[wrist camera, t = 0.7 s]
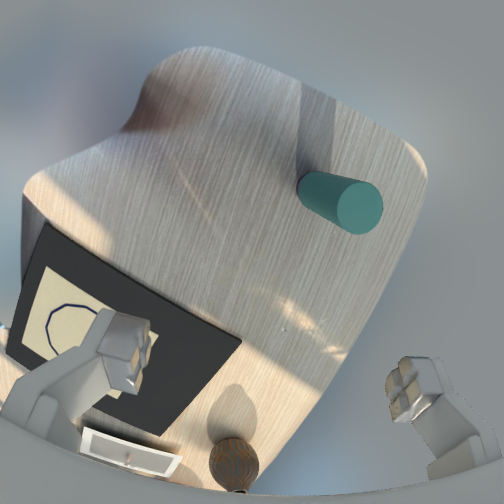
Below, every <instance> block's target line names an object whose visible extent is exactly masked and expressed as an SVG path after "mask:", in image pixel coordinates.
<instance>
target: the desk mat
mask: <svg viewBox="0 0 504 504" xmlns="http://www.w3.org/2000/svg"><path fill="white" fill-rule="evenodd" d="M102 308H106V309H110V310H113V311H117V312H121V313H125V314H128V315H132V316H136V317H139V318H143V319H147V320H149V321H150V331H149V334H148V335H149V336H150V337H151V352H150V357H149V361H148V364H147V366H146V367H145V368H143V369H142V375H143V379H142V382H141V385H140V388H139V391H138V394H137V395H134V394H130V393H126V392H122V391H118V390H115V389H111V391H110V392H108V393H107V394H106V395H105V396H103V397H102V398H101V399H100V400H99V401H97V402H96V403H95V404H94V405H93V406H92V407H94V408H96V409H98V410H100V411H102V412H104V413H106V414H108V415H110V416H112V417H114V418H117V419H119V420H121V421H123V422H125V423H128V424H130V425H132V426H135V427H137V428H139V429H142V430H144V431H147V432H149V433H152V434H154V435H157V436H159V437H160V436H161V435H162V434H163V433H164V432H165V431H166V430H167V429H168V427H169V426H170V425H171V424H172V423H173V422H174V421H175V420H176V419H177V417H178V416H179V415H180V414H181V413H182V412H183V411H184V410H185V408H186V407H187V406H188V405H189V404H190V403H191V402H192V400H193V399H194V398H195V397H196V396H197V395H198V394H199V392H200V391H201V390H202V389H203V388H204V387H205V386H206V384H207V383H208V382H209V381H210V380H211V379H212V377H213V376H214V375H215V374H216V373H217V372H218V370H219V369H220V368H221V367H222V366H223V364H224V363H225V362H226V361H227V360H228V359H229V357H230V356H231V355H232V354H233V353H234V351H235V350H236V349H237V348H238V347H239V345H240V344H241V343H242V340H240V339H238V338H236V337H234V336H232V335H230V334H229V333H227V332H225V331H223V330H221V329H219V328H217V327H215V326H213V325H212V324H210V323H208V322H206V321H204V320H202V319H200V318H199V317H197V316H195V315H193V314H191V313H190V312H188V311H186V310H184V309H182V308H181V307H179V306H177V305H175V304H174V303H172V302H170V301H168V300H167V299H165V298H163V297H161V296H160V295H158V294H156V293H155V292H153V291H151V290H150V289H148V288H146V287H144V286H143V285H141V284H139V283H138V282H136V281H135V280H133V279H131V278H130V277H128V276H126V275H125V274H123V273H122V272H120V271H118V270H117V269H115V268H114V267H112V266H110V265H109V264H107V263H106V262H104V261H103V260H101V259H100V258H98V257H97V256H95V255H93V254H92V253H90V252H89V251H87V250H86V249H84V248H83V247H81V246H80V245H78V244H77V243H75V242H74V241H73V240H71V239H70V238H68V237H67V236H65V235H64V234H62V233H61V232H59V231H58V230H57V229H55V228H54V227H52V226H51V225H50V224H48V223H46V224H45V226H44V228H43V231H42V233H41V235H40V238H39V241H38V243H37V246H36V248H35V251H34V254H33V256H32V259H31V262H30V265H29V268H28V271H27V274H26V277H25V280H24V283H23V286H22V289H21V293H20V296H19V300H18V303H17V307H16V310H15V314H14V318H13V322H12V326H11V330H10V335H9V339H8V344H7V349H6V354H7V355H9V356H10V357H11V358H13V359H14V360H16V361H17V362H18V363H20V364H21V365H23V366H24V367H26V368H27V369H29V370H30V371H32V370H34V369H36V368H37V367H39V366H41V365H42V364H44V363H46V362H48V361H49V360H51V359H53V358H54V357H56V356H58V355H60V354H61V353H63V352H65V351H67V350H68V349H70V348H72V347H73V346H78V347H79V346H80V344H81V343H82V341H83V339H84V337H85V335H86V333H87V331H88V330H89V328H90V326H91V324H92V322H93V321H94V319H95V317H96V315H97V313H98V312H99V311H100V310H101V309H102Z"/></svg>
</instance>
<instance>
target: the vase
mask: <svg viewBox="0 0 504 504" xmlns="http://www.w3.org/2000/svg"><path fill="white" fill-rule="evenodd" d="M209 468H210V472H211V474H212V476H213V478H214V479H215V481H216V482H217V483H218V484H219V485H221V486H222V487H223V488H224V489H226V490H227V491H228V492H234V493H244V494H247V493H248V490H249V488H250V486H251V485H252V484H253V482H254V481H255V479H256V478H257V475H258V471H259V461H258V457H257V454H256V452H255V450H254V449H253V448H252V447H251V445H249V444H248V443H247V442H245V441H243V440H240V439H236V438H229V439H225V440H222V441H220V442H219V443H218V444H216V445H215V446H214V448H213V449H212V451H211V453H210V457H209Z"/></svg>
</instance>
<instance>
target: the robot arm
mask: <svg viewBox="0 0 504 504" xmlns="http://www.w3.org/2000/svg"><path fill="white" fill-rule="evenodd" d="M149 331H150V321H149V320H147V319H143V318H139V317H136V316H132V315H128V314H125V313H121V312H117V311H113V310H110V309H106V308H102V309H101V310H100V311H99V312H98V313H97V315H96V317H95V319H94V321H93V322H92V324H91V326H90V328H89V330H88V331H87V333H86V335H85V337H84V339H83V341H82V343H81V344H80V346H79V347H78V346H73V347H72V348H70V349H68V350H67V351H65V352H63V353H61V354H60V355H58V356H56V357H54V358H53V359H51V360H49V361H48V362H46V363H44V364H42V365H41V366H39V367H37V368H36V369H34V370H32V371H30V372H29V373H27V374H25V375H23V376H22V377H20V378H18V379H17V380H16V382H15V383H14V385H13V387H12V389H11V391H10V393H9V395H8V397H7V399H6V401H5V403H4V405H3V407H2V409H1V411H0V504H504V457H503V458H502V454H501V451H500V448H499V444H498V441H497V438H496V435H495V432H494V429H493V428H492V427H491V426H490V425H489V424H488V423H487V422H486V421H485V420H484V419H483V418H482V417H481V416H480V415H479V414H478V413H477V412H476V411H475V410H474V409H473V408H472V407H471V406H470V405H469V404H468V403H467V402H466V401H465V400H464V399H463V398H462V397H461V396H460V395H459V394H458V393H455V392H454V389H453V387H452V384H451V382H450V379H449V376H448V374H447V371H446V369H445V366H444V364H443V361H442V360H441V359H440V358H439V357H410V356H405V357H403V358H402V359H401V360H400V361H399V362H398V368H396V369H394V370H392V371H391V372H390V374H389V375H388V377H387V380H386V383H385V392H386V396H387V397H388V398H389V399H390V400H391V404H390V406H389V409H390V413H391V417H392V422H393V423H397V422H398V423H399V422H412V425H413V426H414V428H415V429H416V430H417V432H418V433H419V434H420V436H421V437H422V439H423V440H424V441H425V443H426V444H427V446H428V447H429V448H430V450H431V451H432V453H433V454H434V455H435V457H436V458H437V460H435V461H434V462H432V463H431V464H429V465H428V467H427V471H428V478H429V481H427V482H422V483H418V484H413V485H408V486H403V487H397V488H392V489H385V490H378V491H370V492H362V493H353V494H340V495H323V496H322V495H321V496H275V495H256V494H244V493H234V492H225V491H217V490H210V489H204V488H198V487H192V486H186V485H181V484H176V483H171V482H167V481H162V480H158V479H154V478H150V477H146V476H142V475H139V474H135V473H131V472H128V471H125V470H121V469H118V468H115V467H112V466H109V465H106V464H103V463H100V462H97V461H94V460H92V459H89V458H86V457H84V456H81V455H79V454H78V451H79V448H80V445H81V442H82V437H81V435H80V433H79V432H78V430H77V429H76V428H75V426H74V425H73V423H72V422H73V421H74V420H75V419H77V418H78V417H79V416H80V415H82V414H83V413H84V412H85V411H86V410H88V409H89V408H90V407H91V406H93V405H94V404H95V403H96V402H97V401H99V400H100V399H101V398H102V397H103V396H105V395H106V394H107V393H108V392H110V391H111V389H115V390H118V391H122V392H126V393H130V394H134V395H137V394H138V391H139V388H140V385H141V382H142V379H143V375H142V369H143V368H145V367H146V366H147V364H148V361H149V357H150V352H151V337H150V336H149V335H148V334H149Z"/></svg>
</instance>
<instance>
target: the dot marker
mask: <svg viewBox="0 0 504 504" xmlns="http://www.w3.org/2000/svg"><path fill="white" fill-rule="evenodd" d="M297 195H298V197H299V198H300V201H301V202H302V204H303V205H304V206H305V207H307V208H308V209H310V210H312V211H313V212H315V213H317V214H319V215H320V216H322V217H324V218H325V219H327V220H329V221H331V222H332V223H334V224H336V225H337V226H339V227H341V228H342V229H344V230H346V231H347V232H349V233H352V234H358V235H359V234H364V233H367V232H369V231H371V230H372V229H373V228H374V227H375V226H376V225H377V224H378V222H379V220H380V218H381V216H382V212H383V201H382V197H381V195H380V193H379V191H378V190H377V188H376V187H374V186H373V185H372V184H370V183H367V182H363V181H359V180H355V179H351V178H347V177H342V176H338V175H334V174H329V173H324V172H320V171H315V172H311V173H309V174H306V175H304V176H303V177H301V179H300V180H299V181H298V184H297Z"/></svg>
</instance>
